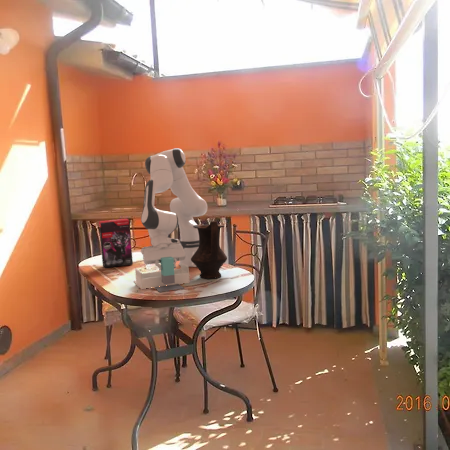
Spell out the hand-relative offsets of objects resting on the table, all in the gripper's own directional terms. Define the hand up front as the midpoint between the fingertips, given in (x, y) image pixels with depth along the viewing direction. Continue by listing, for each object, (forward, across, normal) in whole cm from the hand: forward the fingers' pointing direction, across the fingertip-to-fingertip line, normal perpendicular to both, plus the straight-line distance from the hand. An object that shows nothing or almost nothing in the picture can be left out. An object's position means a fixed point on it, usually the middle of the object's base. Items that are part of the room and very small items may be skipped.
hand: (167, 268), depth 237 cm
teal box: (+4, 0, +5) cm, 7 cm away
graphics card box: (-42, -12, +56) cm, 71 cm away
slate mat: (+6, 0, +7) cm, 10 cm away
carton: (-4, 0, +18) cm, 18 cm away
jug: (-1, +25, +15) cm, 29 cm away
